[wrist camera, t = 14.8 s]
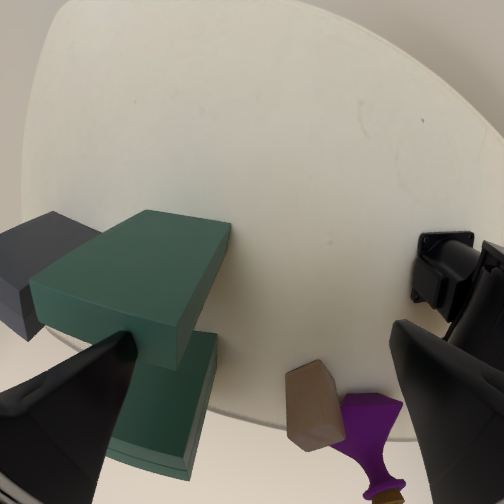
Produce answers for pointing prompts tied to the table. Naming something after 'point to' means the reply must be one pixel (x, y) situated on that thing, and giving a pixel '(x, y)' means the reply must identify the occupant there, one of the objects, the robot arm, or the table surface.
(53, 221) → the charcoal book
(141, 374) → the green book
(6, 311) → the charcoal book
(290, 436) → the wooden block
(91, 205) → the table surface
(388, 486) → the perfume bottle
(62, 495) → the robot arm
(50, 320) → the green book
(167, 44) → the table surface
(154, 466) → the green book
